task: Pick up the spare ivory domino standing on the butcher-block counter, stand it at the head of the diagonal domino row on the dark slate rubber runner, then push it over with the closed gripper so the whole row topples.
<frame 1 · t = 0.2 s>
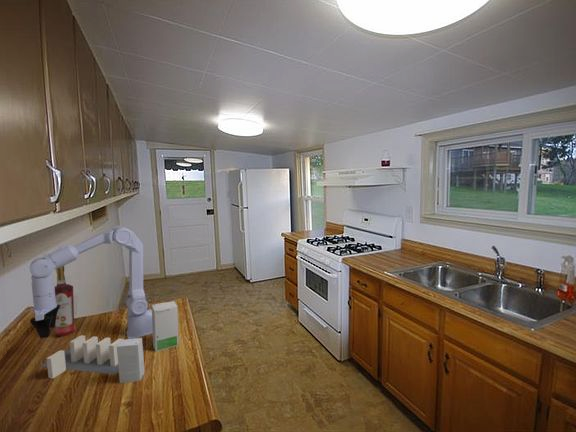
hand: (47, 332, 99), 10 cm above the table, fingers open, 7 cm apart
liquor: (66, 334, 119), on the table
domino 2: (79, 358, 100), resting on runner mat
domino 1: (57, 375, 92), on the table
domino 5: (117, 362, 98), resting on runner mat
skincare box 2: (132, 379, 90), on the table
runner mat: (91, 360, 100), on the table
domino 4: (104, 360, 99), resting on runner mat
skincare box: (166, 346, 109), on the table
domino 3: (91, 359, 99), resting on runner mat
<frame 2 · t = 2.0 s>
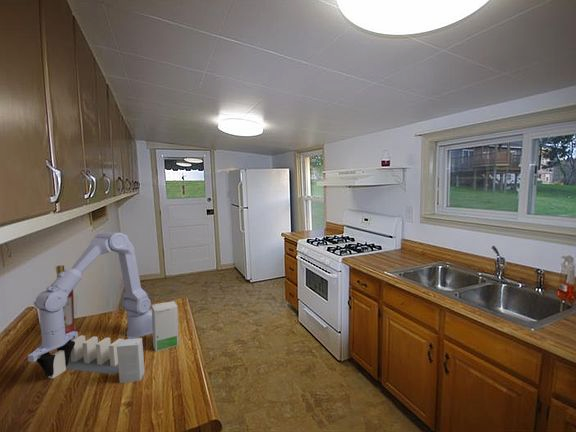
hand: (57, 370, 92), 2 cm above the table, fingers closed on domino 1, 4 cm apart
domino 1: (57, 375, 92), on the table, touching gripper
everything else where it was.
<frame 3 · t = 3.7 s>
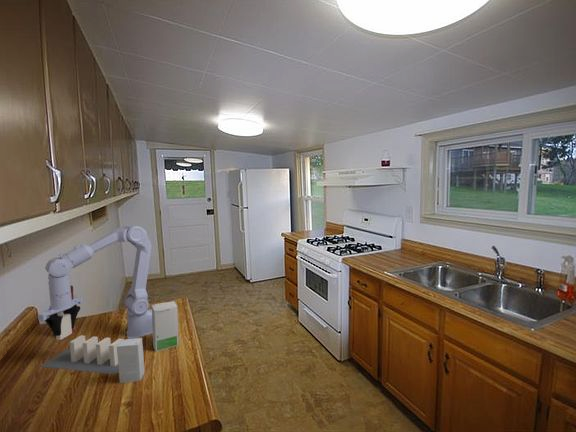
hand: (64, 331, 100), 10 cm above the table, fingers closed on domino 1, 4 cm apart
domino 1: (64, 336, 100), point 8 cm above the table, touching gripper
everything else where it was.
when the fingers open (3 cm above the table, at t = 5.5 s): domino 1 stays where it is, resting on runner mat.
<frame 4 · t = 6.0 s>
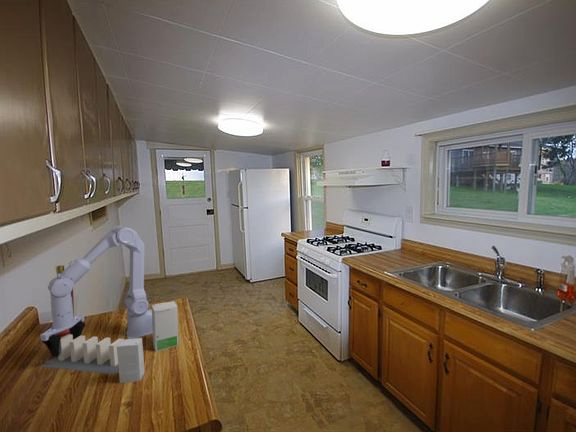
hand: (66, 349, 101), 3 cm above the table, fingers open, 7 cm apart
domino 1: (66, 356, 101), resting on runner mat
everything else where it was.
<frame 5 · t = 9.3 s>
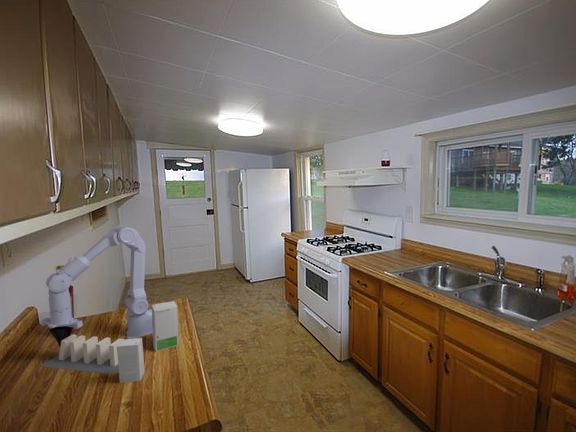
hand: (64, 346, 101), 4 cm above the table, fingers closed
domino 1: (66, 356, 101), point 1 cm above the table, tilted 15°, touching runner mat
everything else where it was.
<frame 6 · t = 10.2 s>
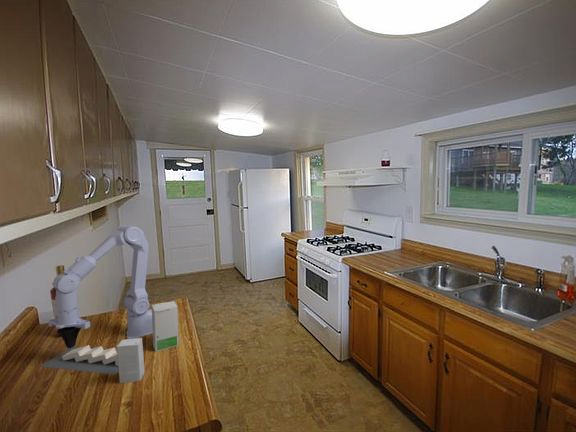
hand: (71, 346, 100), 4 cm above the table, fingers closed
domino 2: (81, 356, 100), point 1 cm above the table, tilted 71°, touching domino 1, domino 3, runner mat
domino 1: (68, 354, 101), point 1 cm above the table, tilted 71°, touching domino 2, runner mat
domino 5: (120, 358, 97), point 2 cm above the table, tilted 97°, touching domino 4, runner mat
domino 4: (108, 358, 98), point 1 cm above the table, tilted 66°, touching domino 3, domino 5, runner mat
domino 3: (93, 357, 99), point 1 cm above the table, tilted 72°, touching domino 2, domino 4, runner mat
everything else where it was.
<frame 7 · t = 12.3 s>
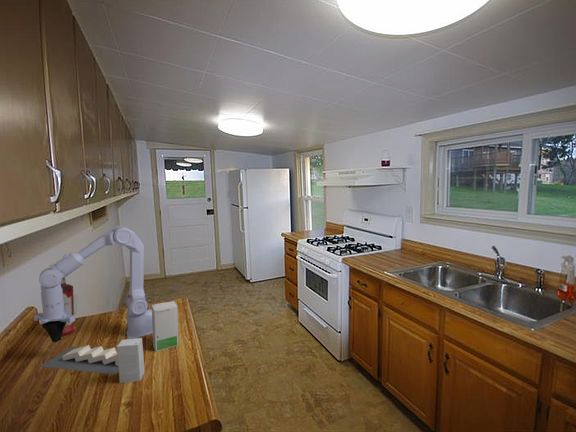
hand: (56, 340, 101), 6 cm above the table, fingers closed
nothing on the table moved.
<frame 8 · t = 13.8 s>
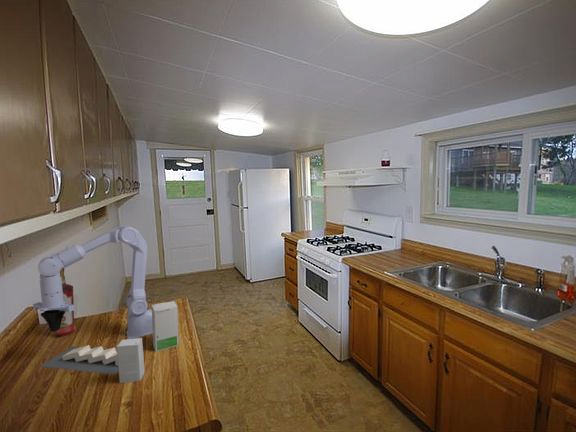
hand: (55, 330, 101), 10 cm above the table, fingers closed
nothing on the table moved.
at the end: domino 5 tilted 97°; domino 3 tilted 72° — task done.
